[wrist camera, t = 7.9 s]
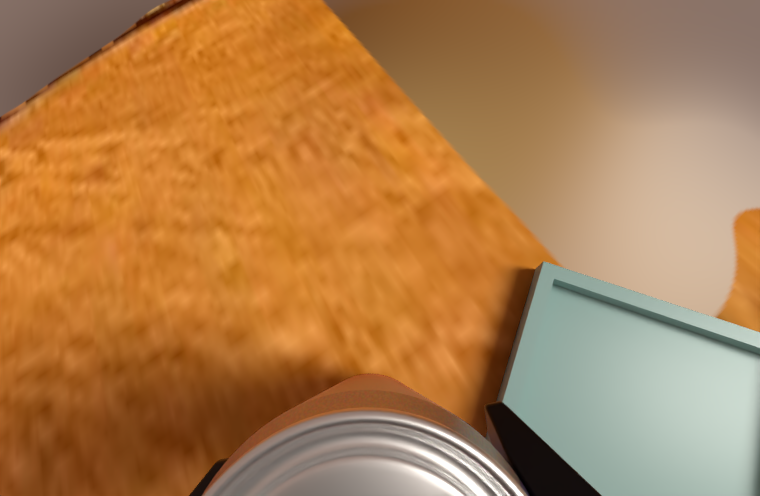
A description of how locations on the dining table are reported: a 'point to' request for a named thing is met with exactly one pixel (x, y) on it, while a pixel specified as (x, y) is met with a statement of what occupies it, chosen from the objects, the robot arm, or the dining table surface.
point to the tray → (636, 389)
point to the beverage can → (366, 449)
